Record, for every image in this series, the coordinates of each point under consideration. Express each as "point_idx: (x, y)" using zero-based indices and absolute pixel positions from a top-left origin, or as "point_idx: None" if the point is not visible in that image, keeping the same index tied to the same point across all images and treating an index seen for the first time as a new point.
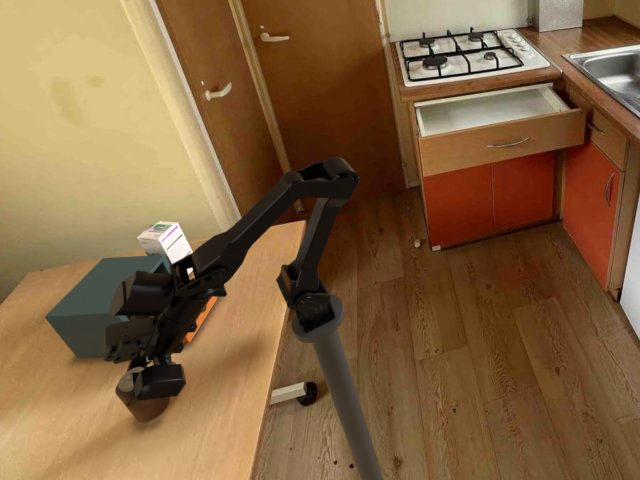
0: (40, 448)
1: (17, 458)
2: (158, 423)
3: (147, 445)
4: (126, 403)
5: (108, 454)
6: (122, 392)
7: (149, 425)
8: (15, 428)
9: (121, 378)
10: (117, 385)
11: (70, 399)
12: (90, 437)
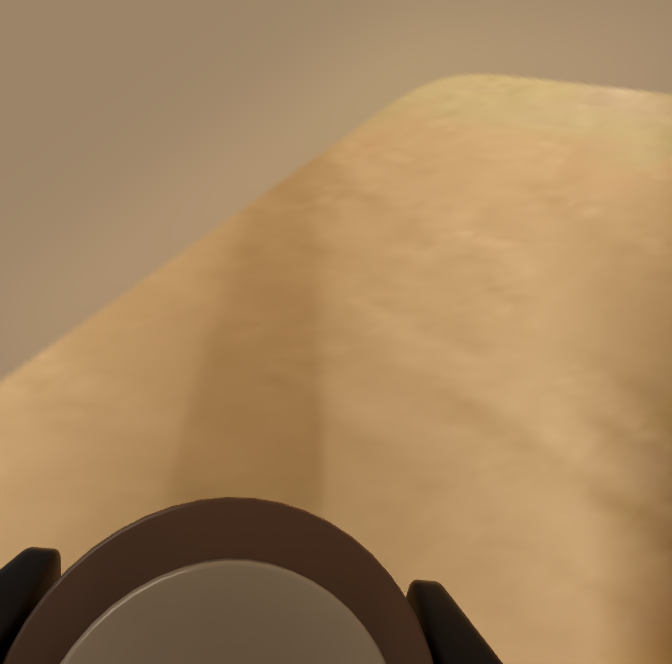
0: (463, 155)
1: (480, 94)
2: None
3: (14, 536)
4: (26, 565)
5: (162, 359)
6: (144, 572)
7: None
8: (641, 108)
9: (335, 621)
10: (324, 533)
11: (655, 276)
12: (350, 310)
